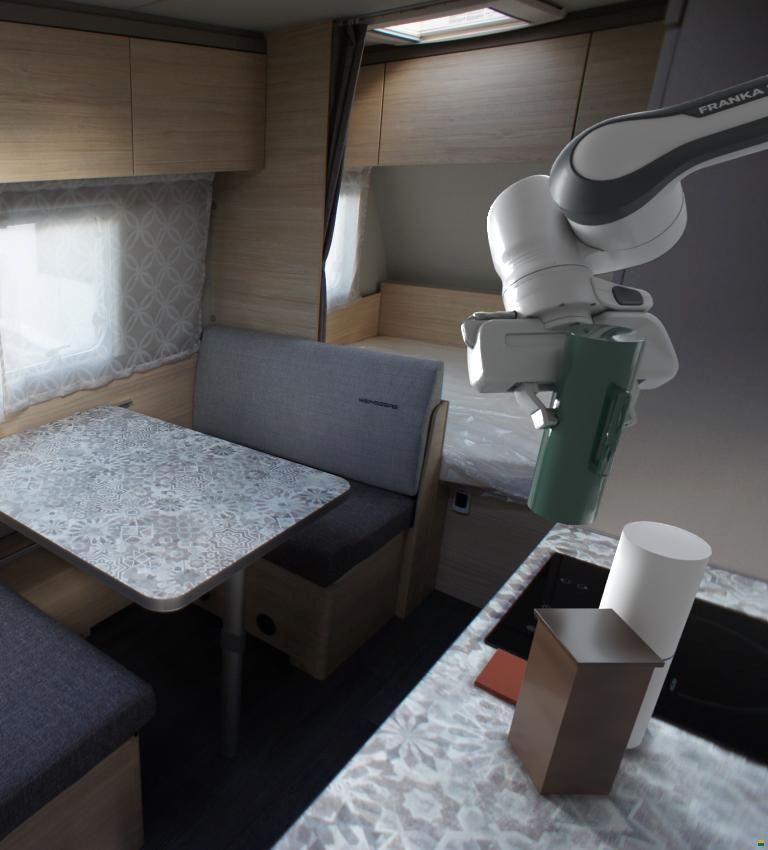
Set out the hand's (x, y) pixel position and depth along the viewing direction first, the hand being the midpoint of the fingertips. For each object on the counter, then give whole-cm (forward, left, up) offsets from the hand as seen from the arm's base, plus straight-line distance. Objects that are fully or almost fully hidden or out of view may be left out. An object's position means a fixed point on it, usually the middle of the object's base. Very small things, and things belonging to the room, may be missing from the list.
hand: (586, 426), depth 69 cm
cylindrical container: (-6, +7, -35) cm, 36 cm away
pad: (0, -1, -35) cm, 35 cm away
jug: (0, -1, -10) cm, 10 cm away
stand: (+4, +11, -35) cm, 37 cm away
